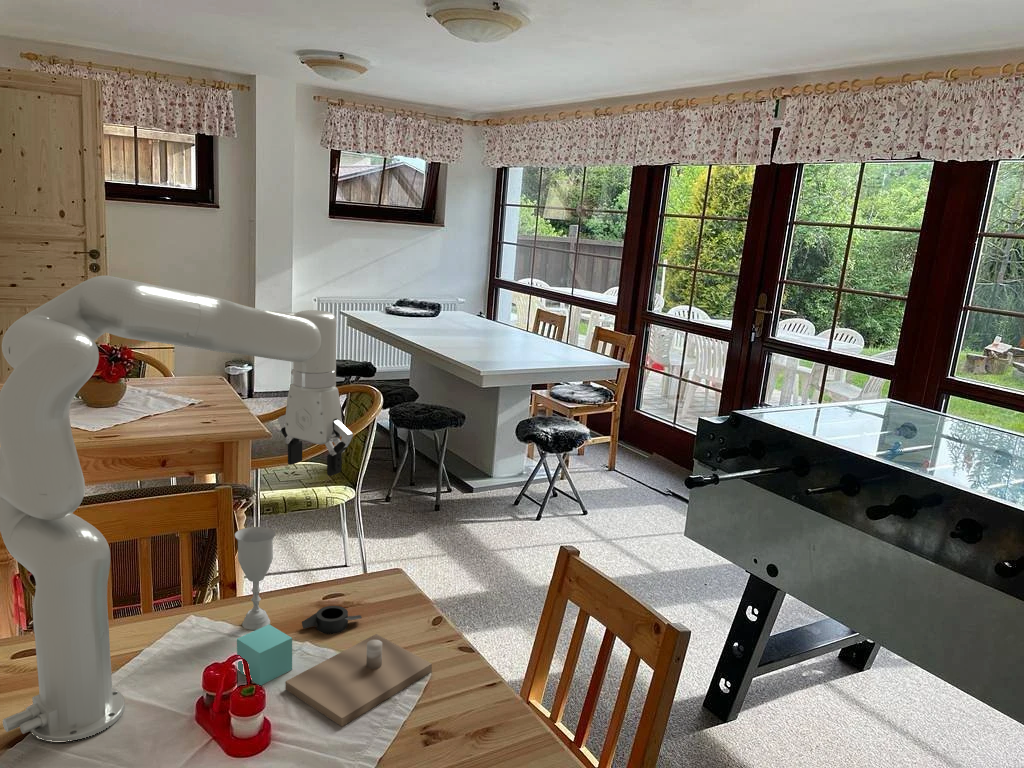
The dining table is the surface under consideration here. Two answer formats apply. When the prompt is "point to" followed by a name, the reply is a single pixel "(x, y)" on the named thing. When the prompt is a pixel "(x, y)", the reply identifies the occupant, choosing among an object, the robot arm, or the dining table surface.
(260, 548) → the chalice
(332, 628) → the dark grey ring piece
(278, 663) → the turquoise rounded cube
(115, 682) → the dining table surface
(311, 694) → the stub board
